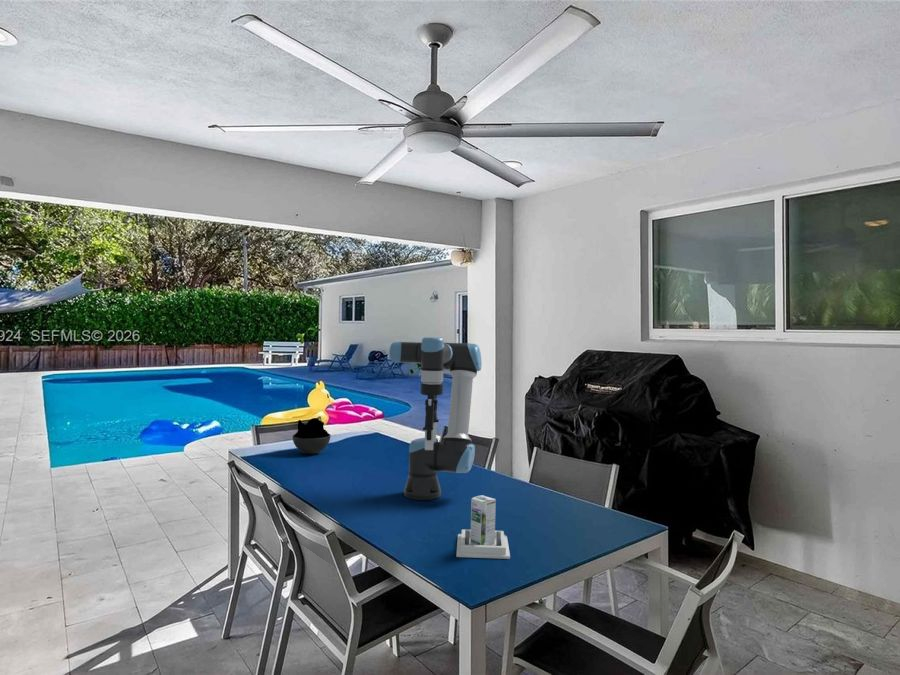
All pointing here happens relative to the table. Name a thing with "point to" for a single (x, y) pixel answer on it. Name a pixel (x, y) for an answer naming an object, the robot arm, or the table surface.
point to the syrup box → (482, 520)
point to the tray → (483, 547)
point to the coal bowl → (311, 436)
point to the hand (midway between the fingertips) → (430, 445)
